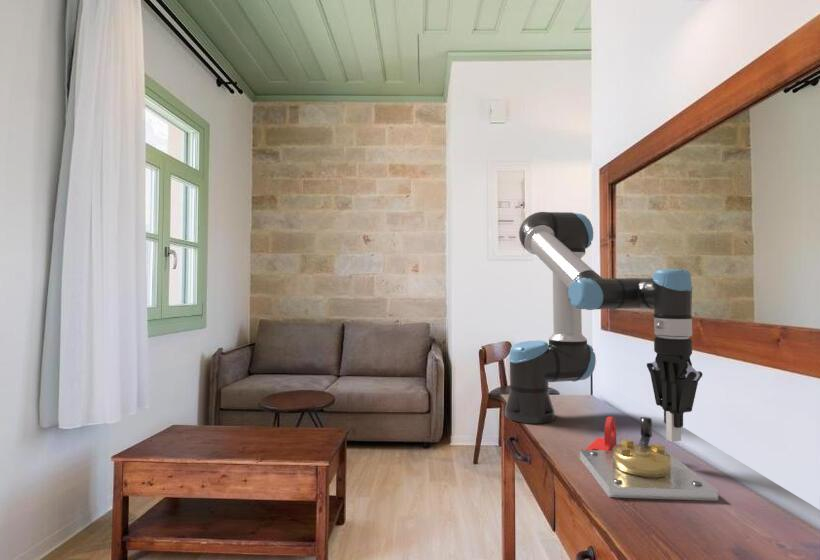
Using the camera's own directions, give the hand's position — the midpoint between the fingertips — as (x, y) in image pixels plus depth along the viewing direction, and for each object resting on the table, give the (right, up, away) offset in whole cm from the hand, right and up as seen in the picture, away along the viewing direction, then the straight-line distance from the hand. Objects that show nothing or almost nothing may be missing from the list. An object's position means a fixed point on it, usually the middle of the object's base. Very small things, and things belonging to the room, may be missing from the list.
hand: (673, 440), depth 103 cm
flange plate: (-11, -6, -6) cm, 14 cm away
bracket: (-12, -6, +10) cm, 17 cm away
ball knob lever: (-8, -3, -3) cm, 9 cm away
